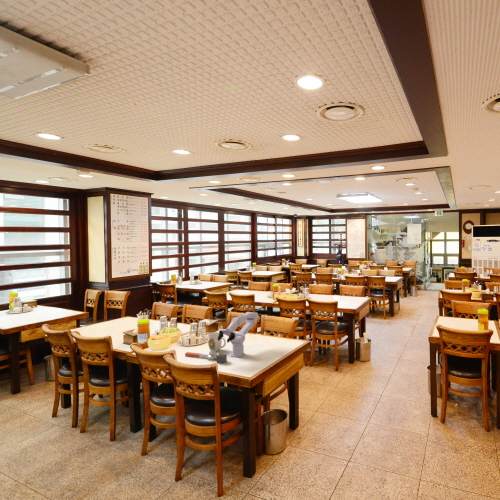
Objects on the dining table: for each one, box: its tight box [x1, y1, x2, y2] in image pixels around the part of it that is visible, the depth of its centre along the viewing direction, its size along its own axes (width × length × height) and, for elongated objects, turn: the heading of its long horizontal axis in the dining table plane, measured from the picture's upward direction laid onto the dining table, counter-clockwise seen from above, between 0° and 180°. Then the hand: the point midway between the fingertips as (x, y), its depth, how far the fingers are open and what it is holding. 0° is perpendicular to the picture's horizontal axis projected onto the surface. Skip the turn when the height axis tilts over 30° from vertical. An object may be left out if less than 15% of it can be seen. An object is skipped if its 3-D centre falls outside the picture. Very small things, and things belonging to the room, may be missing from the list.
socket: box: [215, 353, 228, 364], centre depth 253 cm, size 6×6×5 cm
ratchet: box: [184, 350, 218, 361], centre depth 264 cm, size 27×8×6 cm, turn 67°
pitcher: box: [205, 331, 227, 352], centre depth 281 cm, size 11×18×14 cm, turn 66°
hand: (222, 340), depth 248 cm, fingers open, 7 cm apart
